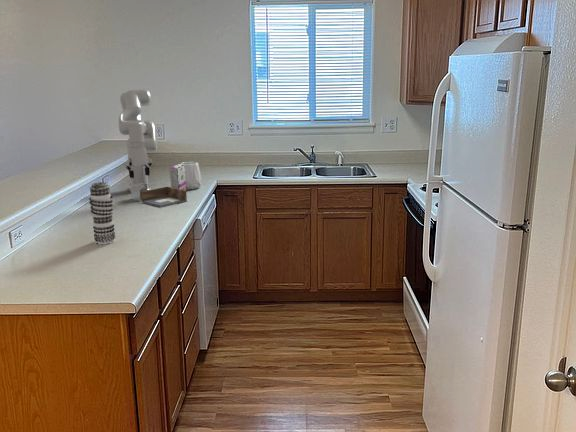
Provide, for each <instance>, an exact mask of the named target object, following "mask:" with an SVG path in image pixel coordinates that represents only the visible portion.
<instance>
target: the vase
mask: <svg viewBox="0 0 576 432" xmlns="http://www.w3.org/2000/svg"><path fill="white" fill-rule="evenodd" d="M180 164H184V166H185V178H186V190H188V189H192V190H196V189H197V188H198V189H199V188H200V187H201V186H202V182H203V179H202V175H201V174H202V173H201V170H200V165H199V162H197V161H183V162H180Z"/></svg>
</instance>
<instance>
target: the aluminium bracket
mask: <svg viewBox="0 0 576 432" xmlns="http://www.w3.org/2000/svg"><path fill="white" fill-rule="evenodd" d="M129 185H130V184H129ZM130 188H131V192H130V194H131V200H134V201H138V202H142V194H141V192H143V191H147V184H146V183H139V184H134V185H130Z"/></svg>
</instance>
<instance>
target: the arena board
mask: <svg viewBox="0 0 576 432" xmlns="http://www.w3.org/2000/svg"><path fill="white" fill-rule="evenodd" d="M141 202H142V204H147V205H150V206H153V207H159V208H163V207H169V206H173V205H177V204H183V203H187V202H188V199H187V200H183V199H179V198H175V197H170V196H165V197H160V198H155V199H151V200H146V201H141Z"/></svg>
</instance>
